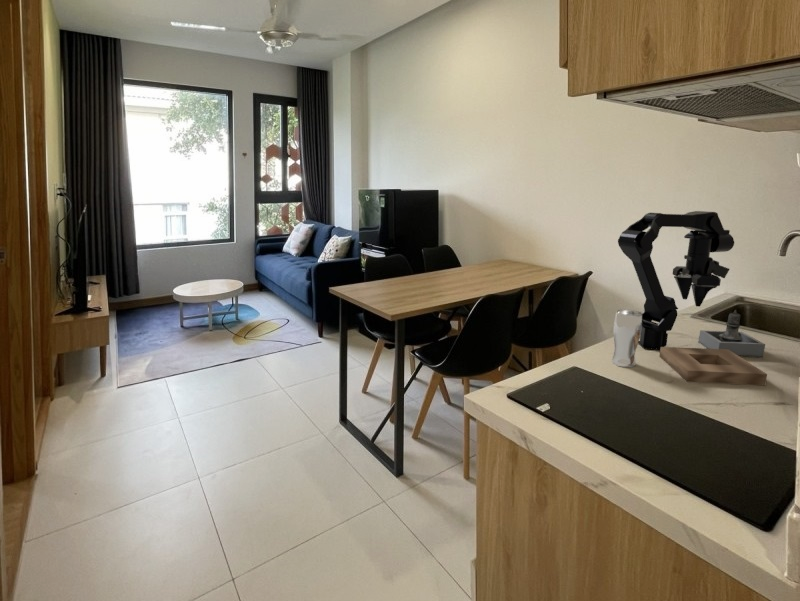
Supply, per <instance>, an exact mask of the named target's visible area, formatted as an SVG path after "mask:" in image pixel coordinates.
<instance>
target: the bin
mask: <svg viewBox="0 0 800 601" xmlns="http://www.w3.org/2000/svg"><path fill="white" fill-rule="evenodd" d="M725 331H726V330H705V329H704V330H701V329H700V330H699V336H698V343H699V344H700V345H702V346H703V347H705V349H728V350H730V351H732V352H733V353H735V354H736V355H738V356H739V357H741V356H742V357H743V358H744V357H745V358H764V353H765V349H766V344H765V343H764V342H762V341H760V340H758V339H756V338H754V337H753V336H751V335H749V334H747V333H745V332H743V331H738V335H739V336H741V337H742V338H743V339H742V340H741V342H721V340H720V336H719V335H720V334H724V333H725ZM742 357H741V358H742Z"/></svg>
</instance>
